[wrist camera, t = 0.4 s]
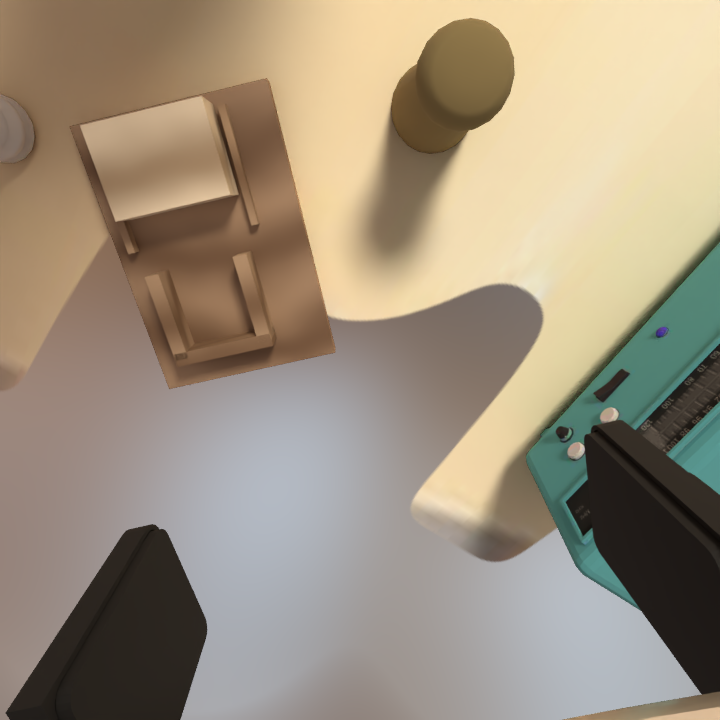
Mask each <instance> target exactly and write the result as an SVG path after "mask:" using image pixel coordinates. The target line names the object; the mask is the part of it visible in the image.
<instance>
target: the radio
mask: <svg viewBox="0 0 720 720" xmlns="http://www.w3.org/2000/svg"><path fill="white" fill-rule="evenodd" d="M615 420H623V421H624V422H626V423H627V424H628V425H629V426H631V427H632V428H633V429H635V430H636V431H637V432H638V433H640V434H641V435H642V436H643V437H645V438H646V439H647V440H648V441H650V442H651V443H652V444H653V445H655V446H656V447H657V448H658V449H660V450H661V451H662V452H663V453H665V454H666V455H667V456H669V457H670V458H671V459H672V460H674V461H675V462H676V463H677V464H679V465H680V466H681V467H682V468H684V469H685V470H686V471H687V472H690V473H692V474H693V475H695V476H697V477H698V478H699V479H700V480H702V481H703V482H704V483H706V484H707V485H708V486H709V487H711V488H712V489H713V490H714V491H716V492H717V493H718V494H720V242H719V243H718V244H717V246H716V247H715V248H714V249H713V250H712V251H711V252H710V253H709V254H708V255H707V257H706V258H705V259H704V260H703V261H702V262H701V263H700V264H699V265H698V266H697V267H696V269H695V270H694V271H693V272H692V273H691V274H690V275H689V276H688V277H687V278H686V280H685V281H684V282H683V283H682V284H681V285H680V286H679V287H678V288H677V289H676V290H675V292H674V293H673V294H672V295H671V296H670V297H669V298H668V299H667V300H666V301H665V303H664V304H663V305H662V306H661V307H660V308H659V309H658V310H657V311H656V312H655V313H654V315H653V316H652V317H651V318H650V319H649V320H648V321H647V322H646V323H645V324H644V326H643V327H642V328H641V329H640V330H639V331H638V332H637V333H636V334H635V335H634V337H633V338H632V339H631V340H630V341H629V342H628V343H627V344H626V345H625V346H624V347H623V349H622V350H621V351H620V352H619V353H618V354H617V355H616V356H615V357H614V358H613V360H612V361H611V362H610V363H609V364H608V365H607V366H606V367H605V368H604V369H603V370H602V372H601V373H600V374H599V375H598V376H597V377H596V378H595V379H594V380H593V381H592V383H591V384H590V385H589V386H588V387H587V388H586V389H585V390H584V391H583V392H582V393H581V395H580V396H579V397H578V398H577V399H576V400H575V401H574V402H573V403H572V404H571V406H570V407H569V408H568V409H567V410H566V411H565V412H564V413H563V414H562V415H561V417H560V418H559V419H558V420H557V421H556V422H555V423H554V424H553V425H552V426H551V427H550V428H547V429H545V430H544V431H543V432H542V433H541V435H540V436H541V438H540V440H539V441H538V442H537V443H536V444H535V445H534V446H533V447H532V448H531V449H530V450H529V452H528V453H527V455H526V462H527V465H528V467H529V469H530V471H531V473H532V475H533V477H534V479H535V482H536V484H537V486H538V488H539V490H540V492H541V494H542V496H543V498H544V500H545V502H546V505H547V507H548V509H549V511H550V513H551V515H552V517H553V519H554V521H555V523H556V525H557V528H558V530H559V532H560V534H561V536H562V538H563V540H564V542H565V544H566V546H567V549H568V550H569V553H570V555H571V557H572V559H573V561H574V563H575V565H576V567H577V568H578V569H579V570H580V572H581V573H582V574H583V575H585V576H586V577H588V578H589V579H591V580H593V581H594V582H596V583H597V584H599V585H601V586H602V587H604V588H605V589H607V590H609V591H610V592H612V593H614V594H615V595H617V596H618V597H620V598H621V599H623V600H625V601H626V602H628V603H630V604H631V605H633V606H634V607H636V608H638V609H639V610H640V608H639V607H638V606H637V604H636V603H635V601H634V600H633V599H632V597H631V596H630V594H629V593H628V592H627V590H626V589H625V587H624V586H623V585H622V583H621V582H620V581H619V579H618V578H617V576H616V575H615V574H614V572H613V571H612V569H611V568H610V567H609V565H608V564H607V563H606V561H605V560H604V558H603V557H602V556H601V554H600V553H599V551H598V549H597V547H596V544H595V542H594V538H593V531H592V520H591V509H590V499H589V488H588V478H587V467H586V457H585V446H584V436H585V435H586V434H589V433H591V428H592V426H593V425H597V424H602V423H606V422H611V421H615Z"/></svg>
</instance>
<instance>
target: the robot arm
mask: <svg viewBox="0 0 720 720" xmlns="http://www.w3.org/2000/svg"><path fill="white" fill-rule="evenodd" d="M584 446H585V457H586V467H587V478H588V488H589V499H590V509H591V520H592V531H593V538H594V542H595V544H596V547H597V549H598V551H599V553H600V554H601V556H602V557H603V558H604V560H605V561H606V563H607V564H608V565H609V567H610V568H611V569H612V571H613V572H614V574H615V575H616V576H617V578H618V579H619V581H620V582H621V583H622V585H623V586H624V587H625V589H626V590H627V592H628V593H629V594H630V596H631V597H632V599H633V600H634V601H635V603H636V604H637V606H638V607H639V608H640V610H641V611H642V612H643V614H644V615H645V617H646V618H647V619H648V621H649V622H650V623H651V625H652V626H653V628H654V629H655V630H656V632H657V633H658V635H659V636H660V637H661V639H662V640H663V641H664V643H665V644H666V646H667V647H668V648H669V649H670V651H671V652H672V654H673V655H674V657H675V658H676V660H677V661H678V662H679V664H680V665H681V666H682V668H683V669H684V671H685V672H686V673H687V675H688V676H689V677H690V679H691V680H692V681H693V683H694V684H695V686H696V687H697V689H698V690H699V691H700V693H701V694H702V695H697V696H691V697H685V698H679V699H673V700H668V701H662V702H656V703H650V704H644V705H638V706H633V707H627V708H621V709H616V710H611V711H606V712H600V713H595V714H591V715H585V716H579V717H574V718H569V719H564V720H720V494H718V493H717V492H716V491H714V490H713V489H712V488H711V487H709V486H708V485H707V484H706V483H704V482H703V481H702V480H700V479H699V478H698V477H697V476H695V475H693V474H692V473H690V472H687V471H686V470H685V469H684V468H682V467H681V466H680V465H679V464H677V463H676V462H675V461H674V460H672V459H671V458H670V457H669V456H667V455H666V454H665V453H663V452H662V451H661V450H660V449H658V448H657V447H656V446H655V445H653V444H652V443H651V442H650V441H648V440H647V439H646V438H645V437H643V436H642V435H641V434H640V433H638V432H637V431H636V430H635V429H633V428H632V427H631V426H629V425H628V424H627V423H626V422H624V421H623V420H615V421H611V422H606V423H602V424H597V425H593V426H592V428H591V433H589V434H586V435H585V436H584ZM206 635H207V623H206V619H205V617H204V614H203V612H202V609H201V607H200V605H199V603H198V601H197V598H196V596H195V594H194V591H193V589H192V587H191V585H190V583H189V580H188V578H187V576H186V574H185V571H184V569H183V567H182V565H181V562H180V560H179V558H178V556H177V554H176V551H175V549H174V547H173V544H172V542H171V540H170V538H169V535H168V534H167V532H166V531H165V530H164V529H159V528H158V527H157V526H156V525H153V524H152V525H147V526H143V527H138V528H134V529H129V530H127V531H126V532H125V533H124V534H123V535H122V537H121V538H120V540H119V541H118V543H117V544H116V546H115V547H114V549H113V551H112V552H111V553H110V555H109V556H108V558H107V560H106V561H105V563H104V564H103V566H102V567H101V569H100V570H99V572H98V573H97V575H96V576H95V578H94V579H93V581H92V582H91V584H90V586H89V587H88V588H87V590H86V592H85V593H84V595H83V596H82V597H81V599H80V601H79V602H78V604H77V605H76V607H75V608H74V610H73V611H72V613H71V614H70V616H69V617H68V619H67V620H66V622H65V623H64V625H63V626H62V628H61V630H60V631H59V633H58V634H57V636H56V637H55V639H54V640H53V642H52V643H51V645H50V646H49V648H48V649H47V651H46V652H45V654H44V655H43V657H42V658H41V660H40V661H39V663H38V665H37V666H36V668H35V669H34V671H33V672H32V674H31V675H30V677H29V678H28V680H27V681H26V683H25V684H24V686H23V687H22V689H21V690H20V692H19V693H18V695H17V697H16V698H15V699H14V701H13V703H12V704H11V706H10V707H9V709H8V710H7V712H6V714H7V716H8V717H9V719H10V720H180V719H181V716H182V713H183V710H184V706H185V703H186V700H187V697H188V694H189V690H190V687H191V684H192V680H193V677H194V674H195V671H196V668H197V664H198V662H199V658H200V655H201V652H202V649H203V646H204V643H205V639H206Z"/></svg>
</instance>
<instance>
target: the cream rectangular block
mask: <svg viewBox="0 0 720 720" xmlns="http://www.w3.org/2000/svg"><path fill="white" fill-rule="evenodd" d="M80 127H81V130H82V133H83V136H84V138H85V141H86V144H87V146H88V149H89V152H90V154H91V157H92V160H93V162H94V165H95V168H96V170H97V173H98V176H99V178H100V181H101V184H102V186H103V189H104V192H105V194H106V197H107V200H108V202H109V205H110V208H111V211H112V213H113V216H114V219H115V221H116V222H117V221H126V220H134V219H138V218H142V217H147V216H151V215H155V214H159V213H164V212H168V211H172V210H176V209H181V208H185V207H189V206H193V205H198V204H202V203H206V202H210V201H215V200H219V199H223V198H228V197H232V196H236V195H239V193H238V190H237V186H236V183H235V179H234V176H233V173H232V169H231V166H230V162H229V159H228V155H227V152H226V148H225V145H224V141H223V138H222V134H221V131H220V127H219V124H218V120H217V117H216V113H215V110H214V106H213V104H212V103H211V102H209V101H208V100H207V99H205V98H204V97H202V96H199V97H194V98H190V99H186V100H182V101H178V102H174V103H170V104H166V105H162V106H158V107H153V108H149V109H145V110H141V111H137V112H133V113H129V114H125V115H121V116H117V117H112V118H108V119H104V120H100V121H96V122H92V123H88V124H84V125H80Z"/></svg>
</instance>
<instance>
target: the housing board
mask: <svg viewBox="0 0 720 720" xmlns="http://www.w3.org/2000/svg"><path fill="white" fill-rule="evenodd" d="M199 96H202V97H204V98H205V99H207V100H208V101H209V102H211V103H212V104H213V106H214V110H215V113H216V117H217V120H218V124H219V127H220V131H221V134H222V138H223V141H224V145H225V148H226V152H227V155H228V159H229V162H230V166H231V169H232V173H233V176H234V179H235V183H236V186H237V190H238V193H239V195H236V196H232V197H228V198H223V199H219V200H215V201H210V202H206V203H202V204H198V205H193V206H189V207H185V208H181V209H176V210H172V211H168V212H164V213H159V214H155V215H151V216H147V217H142V218H138V219H134V220H126V221H117V222H116V221H115V219H114V216H113V213H112V211H111V208H110V205H109V202H108V200H107V197H106V194H105V192H104V189H103V186H102V184H101V181H100V178H99V176H98V173H97V170H96V168H95V165H94V162H93V160H92V157H91V154H90V152H89V149H88V146H87V144H86V141H85V138H84V136H83V133H82V130H81V127H80V125H84V124H88V123H92V122H96V121H100V120H104V119H108V118H112V117H117V116H121V115H125V114H129V113H133V112H137V111H141V110H145V109H149V108H153V107H158V106H162V105H166V104H170V103H174V102H178V101H182V100H186V99H190V98H194V97H199ZM70 129H71V131H72V134H73V137H74V139H75V142H76V145H77V147H78V150H79V152H80V155H81V158H82V160H83V163H84V166H85V168H86V171H87V174H88V176H89V179H90V181H91V184H92V187H93V189H94V192H95V195H96V197H97V200H98V203H99V205H100V208H101V210H102V213H103V216H104V218H105V221H106V224H107V226H108V229H109V231H110V234H111V237H112V239H113V242H114V245H115V247H116V250H117V252H118V255H119V258H120V260H121V263H122V266H123V268H124V271H125V273H126V276H127V279H128V281H129V284H130V287H131V289H132V292H133V295H134V297H135V300H136V303H137V305H138V308H139V310H140V313H141V316H142V318H143V321H144V324H145V326H146V329H147V331H148V334H149V337H150V339H151V342H152V345H153V347H154V350H155V353H156V355H157V358H158V360H159V363H160V366H161V368H162V371H163V374H164V376H165V379H166V382H167V384H168V387H169V389H171V388H176V387H180V386H185V385H190V384H194V383H199V382H203V381H208V380H212V379H216V378H221V377H226V376H231V375H235V374H240V373H244V372H249V371H253V370H257V369H262V368H267V367H272V366H276V365H280V364H285V363H290V362H294V361H298V360H303V359H308V358H312V357H317V356H322V355H326V354H331V353H335V345H334V340H333V336H332V333H331V328H330V324H329V320H328V316H327V312H326V308H325V304H324V300H323V296H322V292H321V288H320V284H319V280H318V276H317V272H316V268H315V264H314V260H313V256H312V252H311V248H310V244H309V240H308V236H307V232H306V228H305V224H304V220H303V216H302V211H301V207H300V203H299V199H298V195H297V191H296V187H295V183H294V179H293V175H292V171H291V167H290V163H289V159H288V155H287V151H286V147H285V143H284V139H283V135H282V131H281V127H280V123H279V119H278V115H277V111H276V107H275V103H274V99H273V95H272V91H271V87H270V83H269V81H268V79H267V78H266V79H262V80H258V81H254V82H250V83H245V84H241V85H237V86H233V87H229V88H225V89H221V90H217V91H213V92H209V93H204V94H200V95H196V96H192V97H188V98H184V99H180V100H176V101H172V102H168V103H163V104H159V105H155V106H151V107H147V108H143V109H139V110H135V111H131V112H127V113H123V114H118V115H114V116H110V117H106V118H102V119H98V120H94V121H90V122H86V123H82V124H77V125H73V126H70Z"/></svg>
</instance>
